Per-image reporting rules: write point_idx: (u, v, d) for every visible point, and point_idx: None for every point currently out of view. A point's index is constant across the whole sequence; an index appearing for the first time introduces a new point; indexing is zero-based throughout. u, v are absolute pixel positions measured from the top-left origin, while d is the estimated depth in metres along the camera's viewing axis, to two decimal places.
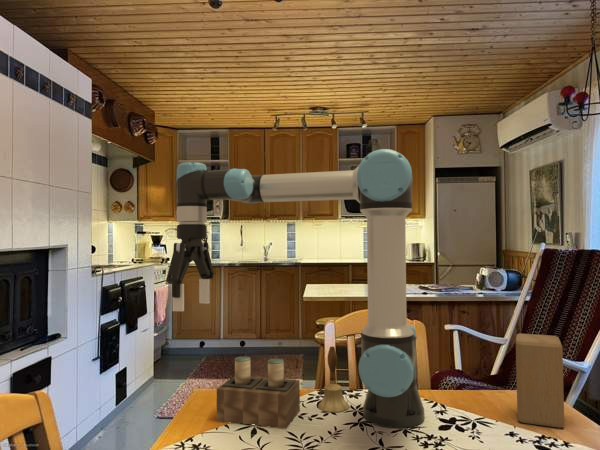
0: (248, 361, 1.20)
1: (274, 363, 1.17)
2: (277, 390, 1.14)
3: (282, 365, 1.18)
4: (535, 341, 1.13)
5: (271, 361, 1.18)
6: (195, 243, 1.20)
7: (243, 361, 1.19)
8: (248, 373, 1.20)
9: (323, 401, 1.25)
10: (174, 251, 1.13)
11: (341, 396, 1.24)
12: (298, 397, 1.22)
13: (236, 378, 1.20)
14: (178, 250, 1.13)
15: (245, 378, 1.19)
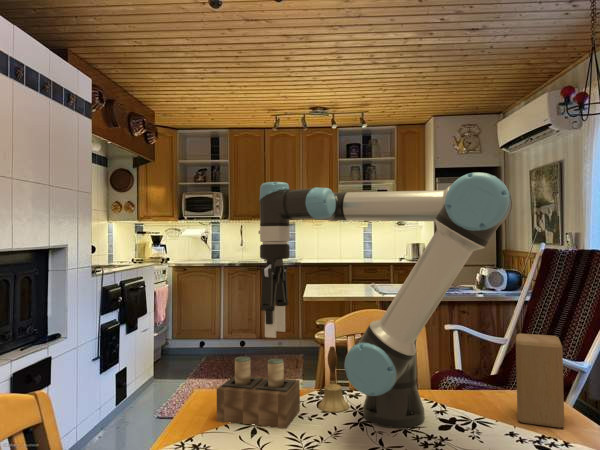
0: (248, 361, 1.20)
1: (274, 363, 1.17)
2: (277, 390, 1.14)
3: (282, 365, 1.18)
4: (535, 341, 1.13)
5: (271, 361, 1.18)
6: (278, 263, 1.19)
7: (243, 361, 1.19)
8: (248, 373, 1.20)
9: (323, 401, 1.25)
10: (262, 277, 1.14)
11: (341, 396, 1.24)
12: (298, 397, 1.22)
13: (236, 378, 1.20)
14: (267, 276, 1.13)
15: (245, 378, 1.19)
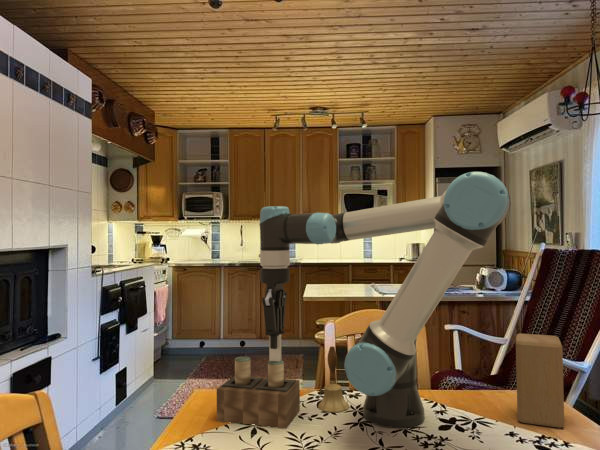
0: (248, 361, 1.20)
1: (274, 364, 1.17)
2: (277, 390, 1.14)
3: (282, 366, 1.18)
4: (535, 341, 1.13)
5: (271, 362, 1.18)
6: (278, 287, 1.19)
7: (243, 361, 1.19)
8: (248, 373, 1.20)
9: (323, 401, 1.25)
10: (264, 306, 1.14)
11: (341, 396, 1.24)
12: (298, 397, 1.22)
13: (236, 378, 1.20)
14: (268, 305, 1.14)
15: (245, 378, 1.19)
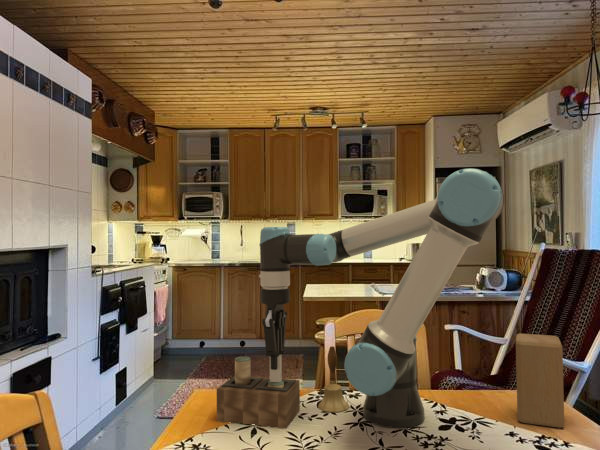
0: (248, 361, 1.20)
1: (274, 385, 1.17)
2: (277, 390, 1.14)
3: (282, 387, 1.18)
4: (535, 341, 1.13)
5: (271, 383, 1.18)
6: (279, 307, 1.19)
7: (243, 361, 1.19)
8: (248, 373, 1.20)
9: (323, 401, 1.25)
10: (264, 327, 1.14)
11: (341, 396, 1.24)
12: (298, 397, 1.22)
13: (236, 378, 1.20)
14: (268, 326, 1.14)
15: (245, 378, 1.19)
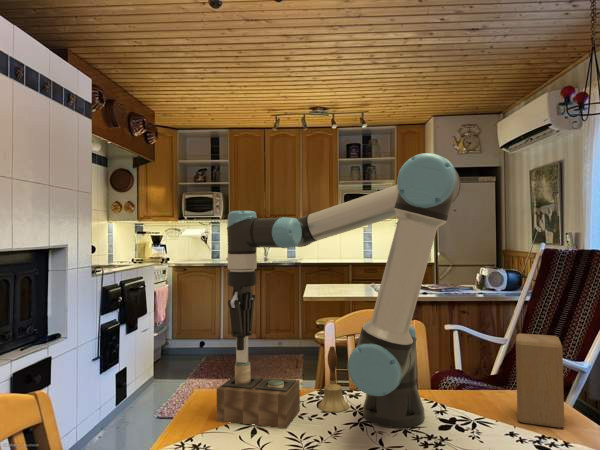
0: (248, 365, 1.20)
1: (274, 385, 1.17)
2: (277, 390, 1.14)
3: (282, 387, 1.18)
4: (535, 341, 1.13)
5: (271, 383, 1.18)
6: (245, 290, 1.21)
7: (243, 365, 1.19)
8: (248, 377, 1.20)
9: (323, 401, 1.25)
10: (230, 309, 1.17)
11: (341, 396, 1.24)
12: (298, 397, 1.22)
13: (236, 382, 1.20)
14: (234, 307, 1.16)
15: (245, 382, 1.19)
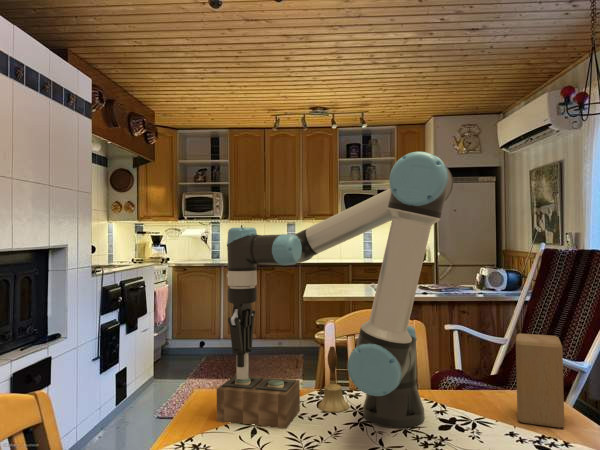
0: (248, 382, 1.20)
1: (274, 385, 1.17)
2: (277, 390, 1.14)
3: (282, 387, 1.18)
4: (535, 341, 1.13)
5: (271, 383, 1.18)
6: (246, 306, 1.21)
7: (243, 382, 1.19)
8: None
9: (323, 401, 1.25)
10: (230, 326, 1.17)
11: (341, 396, 1.24)
12: (298, 397, 1.22)
13: None
14: (234, 325, 1.16)
15: None
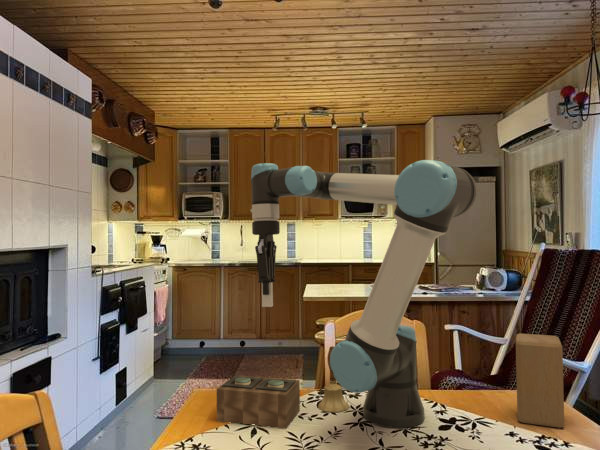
0: (248, 382, 1.20)
1: (274, 385, 1.17)
2: (277, 390, 1.14)
3: (282, 387, 1.18)
4: (535, 341, 1.13)
5: (271, 383, 1.18)
6: (269, 238, 1.29)
7: (243, 382, 1.19)
8: None
9: (323, 401, 1.25)
10: (257, 254, 1.24)
11: (341, 396, 1.24)
12: (298, 397, 1.22)
13: None
14: (261, 253, 1.24)
15: None
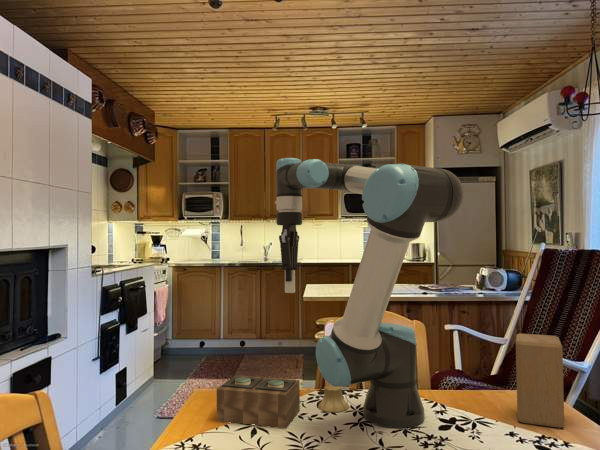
0: (248, 382, 1.20)
1: (274, 385, 1.17)
2: (277, 390, 1.14)
3: (282, 387, 1.18)
4: (535, 341, 1.13)
5: (271, 383, 1.18)
6: (292, 228, 1.37)
7: (243, 382, 1.19)
8: None
9: (323, 401, 1.25)
10: (280, 243, 1.32)
11: (341, 396, 1.24)
12: (298, 397, 1.22)
13: None
14: (284, 242, 1.32)
15: None
